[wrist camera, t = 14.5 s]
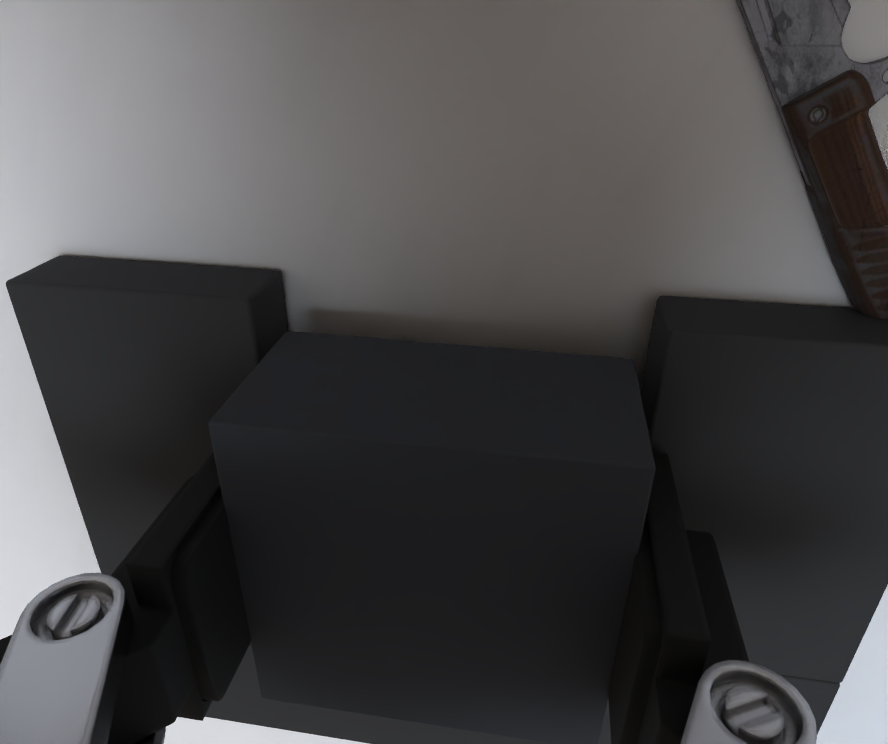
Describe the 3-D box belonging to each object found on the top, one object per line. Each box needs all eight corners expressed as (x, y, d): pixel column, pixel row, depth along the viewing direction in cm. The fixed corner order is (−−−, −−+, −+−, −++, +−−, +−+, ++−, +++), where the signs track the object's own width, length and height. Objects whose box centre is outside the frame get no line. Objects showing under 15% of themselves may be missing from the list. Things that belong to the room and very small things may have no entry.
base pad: (58, 253, 13) (2, 281, 12) (945, 312, 11) (998, 354, 10) (173, 659, 19) (145, 708, 17) (765, 750, 17) (782, 812, 15)
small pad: (285, 330, 12) (206, 422, 9) (634, 358, 11) (656, 467, 8) (314, 575, 15) (260, 698, 12) (591, 612, 14) (597, 752, 11)
